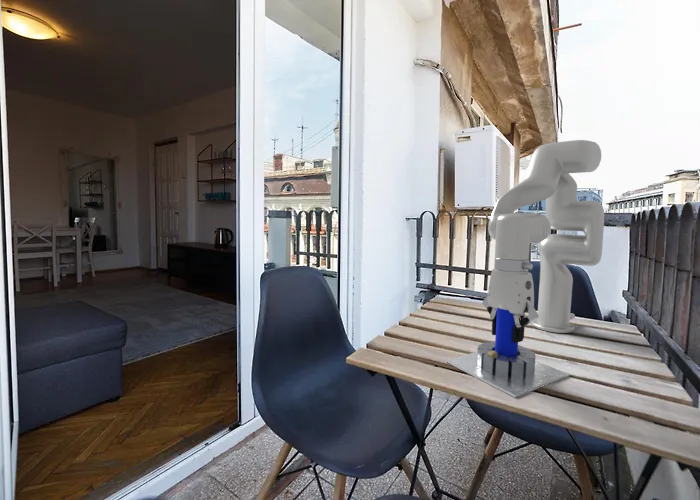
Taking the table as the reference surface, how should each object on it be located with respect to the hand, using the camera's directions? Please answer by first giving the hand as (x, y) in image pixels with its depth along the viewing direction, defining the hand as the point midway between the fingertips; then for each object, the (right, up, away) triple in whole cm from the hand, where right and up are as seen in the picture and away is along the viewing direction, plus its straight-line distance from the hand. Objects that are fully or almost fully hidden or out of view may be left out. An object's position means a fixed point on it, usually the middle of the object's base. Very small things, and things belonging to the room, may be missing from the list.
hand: (507, 337), depth 88 cm
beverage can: (0, -7, +1) cm, 7 cm away
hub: (0, -8, +1) cm, 8 cm away
